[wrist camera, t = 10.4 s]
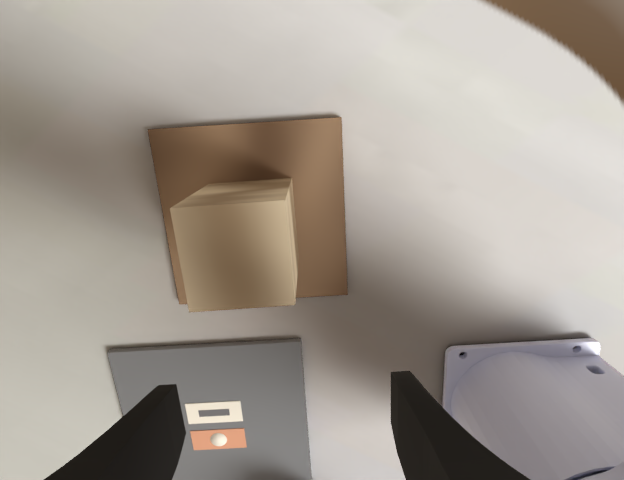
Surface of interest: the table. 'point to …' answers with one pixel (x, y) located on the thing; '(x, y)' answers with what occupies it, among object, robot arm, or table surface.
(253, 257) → the birch block
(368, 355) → the table surface
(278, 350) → the mat
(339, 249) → the walnut pad
